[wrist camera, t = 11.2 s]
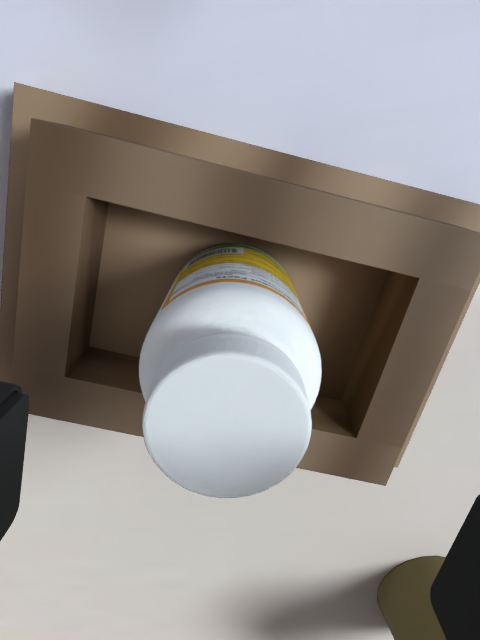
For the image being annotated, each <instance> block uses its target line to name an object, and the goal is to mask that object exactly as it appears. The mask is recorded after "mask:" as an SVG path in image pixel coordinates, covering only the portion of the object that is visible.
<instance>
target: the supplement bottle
mask: <svg viewBox="0 0 480 640" xmlns="http://www.w3.org/2000/svg"><path fill="white" fill-rule="evenodd" d="M321 374H322V369H321V357H320V352H319V348H318V345H317V342H316V339H315V336H314V334H313V332H312V329H311V327H310V325H309V322H308V320H307V318H306V316H305V313H304V311H303V308H302V306H301V304H300V301H299V299H298V296H297V294H296V291H295V289H294V287H293V284H292V282H291V280H290V279H289V277H288V275H287V273H286V272H285V271H284V269H283V268H282V267H281V266H280V264H279V263H278V262H277V261H275V260H274V259H273V258H272V257H271V256H269V255H268V254H266V253H265V252H263V251H261V250H259V249H257V248H254V247H251V246H246V245H240V244H225V245H219V246H214V247H211V248H209V249H206V250H204V251H202V252H200V253H199V254H197V255H196V256H194V257H193V258H192V259H191V260H190V261H188V263H187V264H186V265H185V266H184V267H183V268H182V270H181V271H180V272H179V274H178V275H177V277H176V279H175V281H174V282H173V284H172V286H171V288H170V290H169V292H168V294H167V296H166V298H165V300H164V302H163V304H162V306H161V308H160V310H159V311H158V313H157V315H156V317H155V319H154V321H153V323H152V325H151V327H150V329H149V331H148V333H147V335H146V338H145V340H144V343H143V346H142V350H141V354H140V360H139V379H140V386H141V390H142V394H143V397H144V399H145V402H146V403H145V407H144V411H143V418H142V428H143V436H144V441H145V444H146V447H147V450H148V452H149V454H150V456H151V458H152V459H153V461H154V462H155V464H156V465H157V466H158V467H159V469H160V470H161V471H162V472H163V473H164V474H165V475H166V476H167V477H169V478H170V479H171V480H172V481H174V482H175V483H177V484H179V485H180V486H182V487H183V488H185V489H188V490H190V491H192V492H195V493H198V494H202V495H205V496H210V497H217V498H237V497H244V496H249V495H253V494H256V493H259V492H262V491H264V490H267V489H269V488H271V487H273V486H274V485H276V484H277V483H279V482H281V481H282V480H283V479H285V478H286V477H287V476H288V475H289V474H290V473H291V472H292V471H293V470H294V469H295V468H296V467H297V465H298V464H299V463H300V461H301V460H302V458H303V456H304V454H305V452H306V450H307V448H308V444H309V441H310V436H311V429H312V419H311V409H312V407H313V405H314V403H315V401H316V398H317V395H318V392H319V388H320V383H321Z"/></svg>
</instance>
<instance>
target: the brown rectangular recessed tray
mask: <svg viewBox="0 0 480 640" xmlns="http://www.w3.org/2000/svg"><path fill="white" fill-rule="evenodd" d="M225 244H240V245H246V246H251V247H254V248H257V249H259V250H261V251H263V252H265V253H266V254H268V255H269V256H271V257H272V258H273V259H274V260H275V261H277V262H278V263H279V264H280V266H281V267H282V268H283V269H284V271H285V272H286V273H287V275H288V277H289V279H290V280H291V282H292V284H293V287H294V289H295V291H296V294H297V296H298V299H299V301H300V304H301V306H302V308H303V311H304V313H305V316H306V318H307V320H308V322H309V325H310V327H311V329H312V332H313V334H314V336H315V339H316V342H317V345H318V348H319V352H320V357H321V369H322V374H321V383H320V388H319V392H318V395H317V398H316V401H315V403H314V405H313V407H312V409H311V419H312V429H311V436H310V441H309V444H308V448H307V450H306V452H305V454H304V456H303V458H302V460H301V461H300V463H299V464H298V465H297V467H296V468H300V469H305V470H310V471H315V472H320V473H325V474H330V475H335V476H340V477H345V478H350V479H355V480H360V481H365V482H370V483H374V484H379V485H384V486H386V484H387V481H388V479H389V477H390V474H391V472H392V470H393V468H394V467H397V468H398V465H399V463H400V461H401V459H402V456H403V454H404V452H405V450H406V447H407V445H408V443H409V440H410V438H411V436H412V434H413V431H414V429H415V427H416V425H417V422H418V420H419V418H420V416H421V413H422V411H423V409H424V407H425V404H426V402H427V400H428V398H429V395H430V393H431V391H432V389H433V386H434V384H435V382H436V380H437V377H438V375H439V373H440V371H441V368H442V366H443V364H444V362H445V359H446V357H447V355H448V353H449V350H450V348H451V346H452V344H453V341H454V339H455V337H456V334H457V332H458V330H459V328H460V325H461V323H462V321H463V319H464V316H465V314H466V312H467V310H468V307H469V305H470V303H471V301H472V298H473V296H474V294H475V292H476V289H477V287H478V285H479V283H480V205H479V204H476V203H472V202H468V201H464V200H460V199H457V198H453V197H449V196H445V195H441V194H438V193H434V192H430V191H426V190H422V189H419V188H415V187H411V186H407V185H403V184H400V183H396V182H392V181H388V180H384V179H381V178H377V177H373V176H369V175H365V174H362V173H358V172H354V171H350V170H346V169H343V168H339V167H335V166H331V165H327V164H324V163H320V162H316V161H312V160H308V159H305V158H301V157H297V156H293V155H289V154H286V153H282V152H278V151H274V150H270V149H267V148H263V147H259V146H255V145H251V144H248V143H244V142H240V141H236V140H232V139H228V138H225V137H221V136H217V135H213V134H209V133H206V132H202V131H198V130H194V129H190V128H187V127H183V126H179V125H175V124H171V123H168V122H164V121H160V120H156V119H152V118H149V117H145V116H141V115H137V114H133V113H130V112H126V111H122V110H118V109H114V108H111V107H107V106H103V105H99V104H95V103H92V102H88V101H84V100H80V99H76V98H73V97H69V96H65V95H61V94H57V93H54V92H50V91H46V90H42V89H38V88H35V87H31V86H27V85H23V84H19V83H16V82H14V96H13V112H12V128H11V144H10V161H9V177H8V193H7V210H6V226H5V242H4V258H3V275H2V291H1V307H0V381H2V382H7V383H12V384H16V385H19V386H20V387H21V389H22V394H26V395H28V396H29V412H28V414H32V415H37V416H42V417H47V418H52V419H57V420H62V421H67V422H72V423H77V424H82V425H87V426H92V427H97V428H102V429H107V430H112V431H117V432H121V433H126V434H131V435H136V436H141V437H144V436H143V428H142V418H143V411H144V407H145V403H146V402H145V399H144V397H143V394H142V390H141V386H140V379H139V360H140V354H141V350H142V346H143V343H144V340H145V338H146V335H147V333H148V331H149V329H150V327H151V325H152V323H153V321H154V319H155V317H156V315H157V313H158V311H159V310H160V308H161V306H162V304H163V302H164V300H165V298H166V296H167V294H168V292H169V290H170V288H171V286H172V284H173V282H174V281H175V279H176V277H177V275H178V274H179V272H180V271H181V270H182V268H183V267H184V266H185V265H186V264H187V263H188V261H190V260H191V259H192V258H193V257H194V256H196V255H197V254H199V253H200V252H202V251H204V250H206V249H209V248H211V247H214V246H219V245H225Z"/></svg>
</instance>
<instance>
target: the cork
mask: <svg viewBox="0 0 480 640" xmlns="http://www.w3.org/2000/svg"><path fill="white" fill-rule="evenodd" d="M444 560H445V557H440V556H429V557H420V558H416V559H413V560H409V561H406V562H404V563H403V564H401V565H399V566H397V567H395V568H394V569H392V570H391V571H390V572H389V573H388V574H387V575H386V576H385V577H384V578H383V580H382V582H381V584H380V586H379V588H378V596H377V601H378V604H379V606H380V609H381V611H382V613H383V616H384V618H385V620H386V622H387V624H388V626H389V629H390V631H391V633H392V635H393V637H394V639H395V640H446V638H445V635H444V633H443V631H442V628H441V626H440V624H439V621H438V619H437V617H436V614H435V612H434V610H433V607H432V604H431V599H430V590H431V586H432V584H433V582H434V580H435V578H436V576H437V574H438V572H439V570H440V568H441V566H442V564H443V562H444Z"/></svg>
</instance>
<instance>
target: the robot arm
mask: <svg viewBox="0 0 480 640" xmlns="http://www.w3.org/2000/svg"><path fill="white" fill-rule="evenodd" d="M28 412H29V396H28V395H26V394H22V389H21V387H20V386H19V385H16V384H12V383H7V382H2V381H0V541H1V539H2V538H3V536H4V535H5V533H6V532H7V530H8V529H9V527H10V526H11V524H12V522H13V520H14V518H15V516H16V513H17V511H18V507H19V501H20V491H21V481H22V471H23V461H24V451H25V442H26V432H27V422H28ZM430 599H431V604H432V607H433V610H434V612H435V614H436V617H437V619H438V621H439V624H440V626H441V628H442V631H443V633H444V635H445V638H446V640H480V495H478V497H477V498H476V500H475V502H474V504H473V506H472V508H471V510H470V512H469V514H468V515H467V517H466V519H465V521H464V523H463V525H462V527H461V529H460V531H459V533H458V535H457V537H456V539H455V541H454V543H453V545H452V547H451V549H450V551H449V552H448V554H447V556H446V558H445V560H444V562H443V564H442V566H441V568H440V570H439V572H438V574H437V576H436V578H435V580H434V582H433V584H432V586H431V590H430Z"/></svg>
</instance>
